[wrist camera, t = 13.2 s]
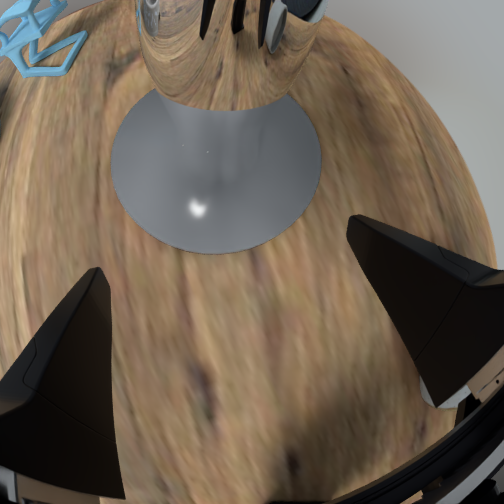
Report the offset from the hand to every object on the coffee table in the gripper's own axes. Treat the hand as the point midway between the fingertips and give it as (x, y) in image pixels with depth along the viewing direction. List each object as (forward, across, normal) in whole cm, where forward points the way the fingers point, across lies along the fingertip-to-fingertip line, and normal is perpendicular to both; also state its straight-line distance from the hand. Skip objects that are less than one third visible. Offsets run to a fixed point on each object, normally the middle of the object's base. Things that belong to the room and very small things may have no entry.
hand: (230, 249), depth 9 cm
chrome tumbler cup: (+12, -1, 0) cm, 12 cm away
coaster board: (+13, -1, 0) cm, 13 cm away
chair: (+27, +16, -13) cm, 34 cm away
